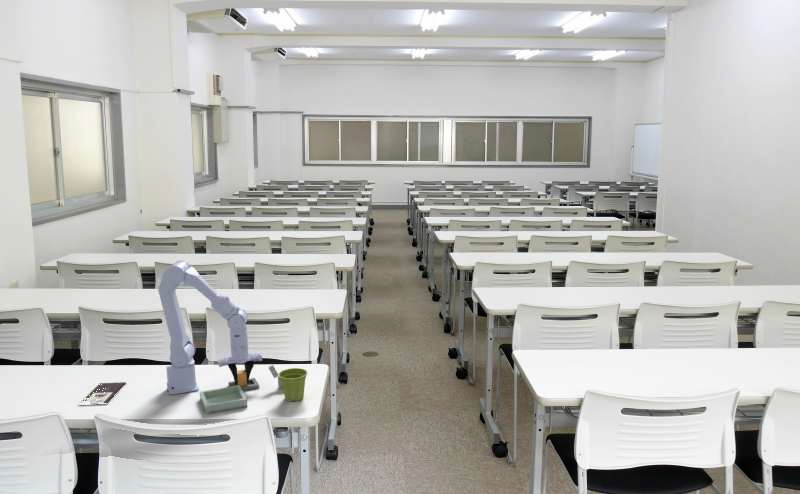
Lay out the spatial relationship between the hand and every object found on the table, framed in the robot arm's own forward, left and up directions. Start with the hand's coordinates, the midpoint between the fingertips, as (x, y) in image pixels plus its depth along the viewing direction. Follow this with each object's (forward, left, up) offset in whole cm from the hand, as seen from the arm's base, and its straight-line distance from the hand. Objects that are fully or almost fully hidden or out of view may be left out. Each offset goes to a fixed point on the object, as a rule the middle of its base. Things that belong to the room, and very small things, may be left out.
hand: (241, 383), depth 237 cm
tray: (-8, -11, -1) cm, 14 cm away
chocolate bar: (-44, +14, -2) cm, 46 cm away
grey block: (+12, -6, -2) cm, 14 cm away
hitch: (0, 0, -1) cm, 1 cm away
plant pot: (+14, -17, -2) cm, 22 cm away
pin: (0, 0, -1) cm, 1 cm away
